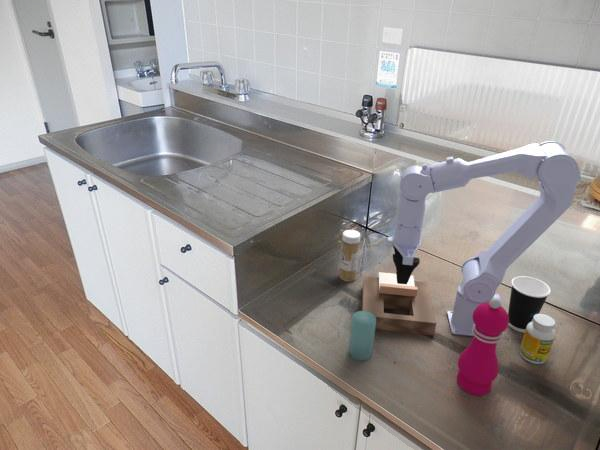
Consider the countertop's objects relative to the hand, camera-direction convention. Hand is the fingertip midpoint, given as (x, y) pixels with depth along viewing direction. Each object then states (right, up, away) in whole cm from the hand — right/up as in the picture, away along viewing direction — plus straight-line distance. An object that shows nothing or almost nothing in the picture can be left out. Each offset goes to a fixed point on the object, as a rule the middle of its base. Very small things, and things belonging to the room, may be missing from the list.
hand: (401, 275), depth 103 cm
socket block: (0, -9, +6) cm, 10 cm away
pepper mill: (+11, -19, -15) cm, 27 cm away
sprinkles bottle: (-10, -3, +18) cm, 21 cm away
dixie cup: (+27, -12, +1) cm, 30 cm away
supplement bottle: (+26, -16, -7) cm, 32 cm away
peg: (-10, -15, -8) cm, 20 cm away
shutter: (+1, -4, +8) cm, 9 cm away
